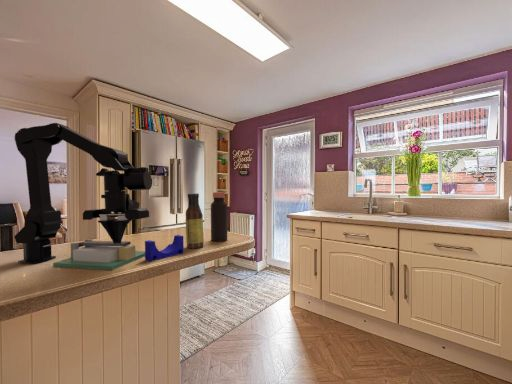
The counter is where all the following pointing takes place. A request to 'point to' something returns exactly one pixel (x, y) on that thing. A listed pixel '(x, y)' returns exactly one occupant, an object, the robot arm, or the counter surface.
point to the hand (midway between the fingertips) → (117, 242)
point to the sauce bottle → (194, 222)
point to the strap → (103, 243)
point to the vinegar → (218, 217)
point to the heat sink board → (97, 264)
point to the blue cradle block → (170, 250)
